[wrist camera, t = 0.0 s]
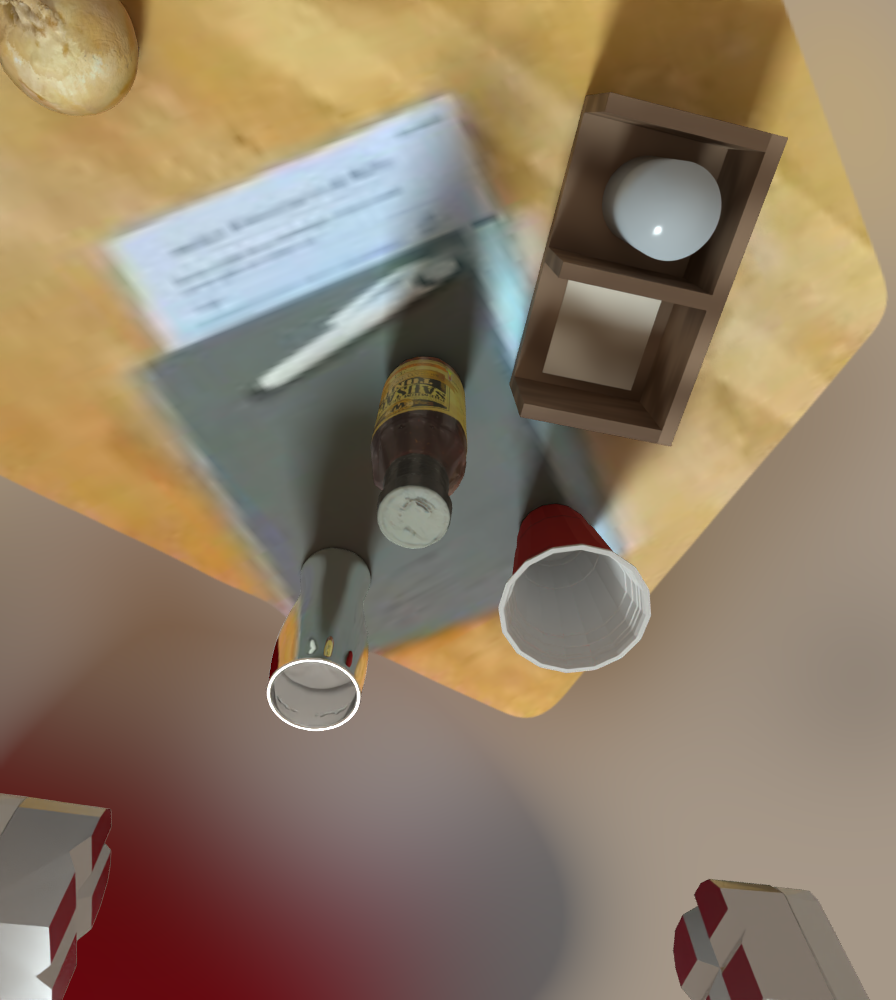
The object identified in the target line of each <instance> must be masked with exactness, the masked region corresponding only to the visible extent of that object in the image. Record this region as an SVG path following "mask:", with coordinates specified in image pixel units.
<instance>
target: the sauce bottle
mask: <svg viewBox="0 0 896 1000" xmlns="http://www.w3.org/2000/svg"><path fill="white" fill-rule="evenodd" d="M466 454H467V433H466V408H465V393H464V389H463V386H462V383H461V381H460V377H459V376H458V374H457V373H456V371H455V370H454V369H453V368H452V367H451V366H450V365H449V364H447V363H445V362H444V361H442V360H440V359H438V358H434V357H414V358H412V359H408V360H406V361H405V362H403V363H402V364H401V365H399V366H398V367H397V368H396V369H395V370H394V371H393V372H392V373H391V374H390V376H389V377H388V379H387V381H386V383H385V385H384V388H383V392H382V396H381V401H380V405H379V410H378V415H377V419H376V424H375V428H374V432H373V436H372V441H371V456H372V468H373V479H374V484H375V485H376V486H377V487H379V488H380V489H381V490H382V492H381V493H380V495H379V499H378V504H377V521H378V524H379V528H380V530H381V531H382V533H383V534H384V535H385V537H386V538H388V539H389V540H390V541H391V542H393V543H394V544H397V545H400V546H401V547H405V548H410V549H416V548H424V547H427V546H429V545H431V544H433V543H435V542H437V541H439V540H440V539H441V538H442V537H443V536H444V535H445V533H446V532H447V530H448V527H449V525H450V520H451V513H452V502H451V499H450V497H449V496H450V495H451V494H453V492H454V491H455V490H456V489H457V487H458V486H459V484H460V482H461V480H462V479H463V476H464V473H465V468H466Z"/></svg>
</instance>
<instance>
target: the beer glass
mask: <svg viewBox="0 0 896 1000" xmlns="http://www.w3.org/2000/svg"><path fill="white" fill-rule="evenodd" d="M370 583H371V575H370V571H369V569H368V566H367V565H366V563H365V562H364V561H363V560H362V559H361V558H360V557H359V556H358V555H356V554H355V553H353V552H351V551H348V550H345V549H341V548H327V549H323V550H320V551H318V552H316V553H314V554H312V555H311V556H310V557H309V558H308V559H307V560H306V561H305V563H304V565H303V567H302V569H301V574H300V587H301V592H300V595H299V597H298V599H297V601H296V603H295V604H294V606H293V608H292V609H291V611H290V613H289V614H288V616H287V618H286V620H285V622H284V624H283V626H282V628H281V630H280V632H279V634H278V637H277V640H276V644H275V647H274V651H273V655H272V660H271V666H270V672H269V679H268V683H267V688H266V697H267V701H268V704H269V706H270V708H271V709H272V711H273V712H274V713H275V714H276V715H277V716H278V717H279V718H280V719H281V720H283V721H284V722H285V723H287V724H289V725H291V726H294V727H296V728H300V729H304V730H310V731H322V730H328V729H332V728H335V727H338V726H340V725H342V724H344V723H345V722H347V721H348V720H350V719H351V718H352V717H353V716H354V714H355V713H356V712H357V710H358V708H359V706H360V702H361V695H362V690H363V686H364V682H365V677H366V671H367V664H368V650H369V645H368V633H367V627H366V621H365V615H364V609H363V603H364V600H365V597H366V595H367V593H368V591H369V588H370Z"/></svg>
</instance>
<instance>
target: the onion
mask: <svg viewBox="0 0 896 1000" xmlns="http://www.w3.org/2000/svg"><path fill="white" fill-rule="evenodd" d="M138 52H139V47H138V44H137V40H136V35H135V31H134V28H133V25H132V22H131V19H130V17H129V15H128V13H127V11H126V9H125V8H124V6H123V5H122V3H121V2H120V0H0V63H1V65H2V67H3V69H4V71H5V73H6V74H7V75H8V76H9V78H10V79H11V80H12V81H13V82H14V84H15V85H16V86H17V87H18V88H19V89H20V90H21V91H23V92H24V93H25V94H26V95H27V96H28V97H30V98H31V99H32V100H34V101H35V102H37V103H38V104H40V105H42V106H43V107H45V108H48V109H50V110H52V111H55V112H58V113H61V114H65V115H72V116H91V115H96V114H100V113H103V112H105V111H107V110H109V109H111V108H113V107H114V106H115V105H117V104H118V103H119V102H120V101H121V100H122V99H123V98H124V97H125V96H126V95H127V94H128V92H129V91H130V89H131V87H132V85H133V83H134V80H135V77H136V73H137V65H138V54H139V53H138Z"/></svg>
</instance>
